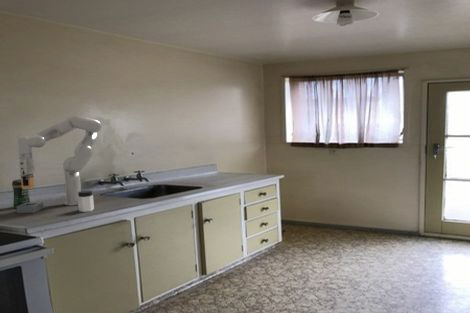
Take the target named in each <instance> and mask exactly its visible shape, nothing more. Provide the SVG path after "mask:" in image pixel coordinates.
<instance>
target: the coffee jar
mask: <svg viewBox="0 0 470 313" xmlns="http://www.w3.org/2000/svg"><path fill="white" fill-rule="evenodd" d="M11 187H12V190H13V208H15V209H17V208H16V207H17V206H19V205H21V204H24V203H29V202H31V199H30V194H29V193H30V192H29V189H22V182H21V178H19V179H14V180H12V183H11Z"/></svg>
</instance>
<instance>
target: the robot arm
mask: <svg viewBox="0 0 470 313" xmlns="http://www.w3.org/2000/svg"><path fill="white" fill-rule="evenodd" d="M76 129H79V130H81V131H82V130H83V131H85V135H84V137H83V138H82V140H81V141H80V142H79V143H78V144H77V145H76V147H75V148H74V151H73V153H74V155H73V156H68V157H66V158H65V159H64V160H63V163H62V167H63V169H62V170H63V173H64V174H63V175H64V183H65V184H64V185H65V186H64V187H65V195H66V196H65V199H66V200H65V201H64V203H63V204H64V206H78V192H80V191H82V186H81V171H82V170H83V169H84V168H85V167H86V166H87V164H88V163H89V161H90V159H92V157H93V154H94V150H93V148H94V146H95V145H96V143H97V141H98V140H99V132H101V130H102V123H101V122H100V121H99V120H97V119H93V118H91V117H85V116H82V115H76V114H75V115H71V116H69V117H66V118H65V119H63V120H61V121H60V122H57V123H55V124H54V125H51V126H50V127H47V128H45V129H44V130H41V131H39V132H37V133H36V134H34V135H32V136H18V137H17V148H18V150H17V152H18V159H19V161H18V165H19V166H18V167H19V176H20V178H21V177H22V180H23V186H28V185H29V184H28V179H27V176H28V175H33V176H34V174H35V173H36V168H35V163H34V157H33V148H43V147H44V146H45V145H46V142H49V141H50V140H54V139H57V138H58V139H59V138H61V137H63V136H65V135H67V134H69V133H70V132H73V131H74V130H76ZM25 175H26V177H25Z"/></svg>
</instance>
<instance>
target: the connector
mask: <svg viewBox="0 0 470 313" xmlns="http://www.w3.org/2000/svg"><path fill="white" fill-rule="evenodd" d="M25 177H26V175H25ZM20 179H21V182H22V189H28V190H29V189H33V188H35V178H34V174H33V175H28V176H27V179H28V184H29V185H28V186H23V180H22V177H21V176H20Z"/></svg>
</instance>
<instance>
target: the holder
mask: <svg viewBox="0 0 470 313" xmlns="http://www.w3.org/2000/svg"><path fill="white" fill-rule="evenodd" d="M15 209H16V214H27V213H36V212H39V211H40V210H42V209H44V202H43V201H40V202H39V201H38V202H35V201H33V202H31V201H30V202H29V203H24V204H21V205H19V206H17V207H16V208H15Z"/></svg>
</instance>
